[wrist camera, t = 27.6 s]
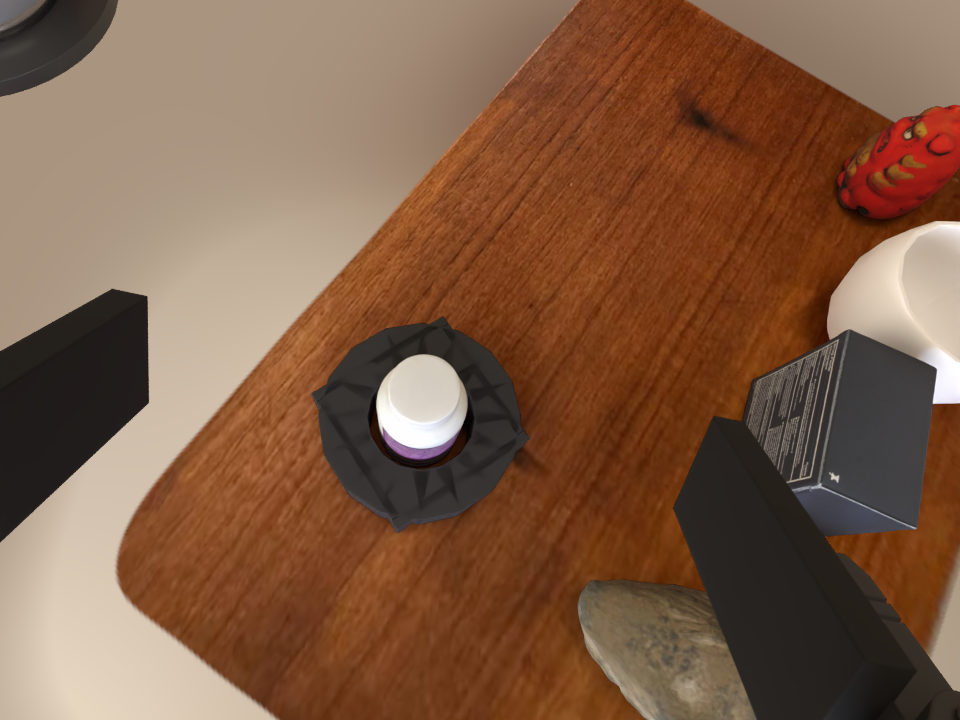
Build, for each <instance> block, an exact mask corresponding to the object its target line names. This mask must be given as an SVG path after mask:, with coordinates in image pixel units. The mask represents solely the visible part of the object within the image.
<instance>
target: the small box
mask: <svg viewBox="0 0 960 720" xmlns="http://www.w3.org/2000/svg"><path fill="white" fill-rule="evenodd" d="M936 376H937V369H936V368H935V367H933V366H931V365H929V364H928V363H926V362H923V361H921V360H919V359H917V358H914V357H912V356H910V355H908V354H906V353H903V352H901V351H899V350H897V349H894V348H892V347H889V346H887V345H885V344H883V343H880V342H878V341H876V340H874V339H871V338H869V337H867V336H864V335H862V334H860V333H858V332H855V331H853V330H851V329H848V330H846V331H844V332H842V333H840V334H839V335H838V336H836V337H834V338H833V339H831V340H829V341H828V342H826V343H824V344H822V345H821V346H818V347H817V348H815V349H812V350H811V351H809V352H806V353H805V354H803V355H801V356H799V357H797V358H795V359H793V360H791V361H789V362H787V363H786V364H783V365H782V366H780V367H777V368H776V369H774V370H772V371H770V372H768V373H766V374H763V375H762V376H760V377H757V378H755V379H753V382H752V386H751V389H750V393H749V397H748V401H747V405H746V409H745V413H744V417H743V421H742V422H745V424H746V425H747V426H748V428H749V429H750V431H751V432H752V434H753V435H754V436H755V438H756V439H757V441H758V442H759V444H760V445H761V446H762V448H763V449H764V451H765V452H766V454H767V455H768V457H769V458H770V459H771V461H772V462H773V464H774V465H775V467H776V468H777V469H778V471H779V472H780V474H781V475H782V477H783V478H784V480H785V481H786V482H787V484H788V485H789V487H790V488H791V490H792V491H793V492H794V494H795V495H796V497H797V498H798V500H799V501H800V502H801V504H802V505H803V507H804V508H805V510H806V511H807V513H808V514H809V515H810V517H811V518H812V520H813V521H814V523H815V524H816V525H817V527H818V528H819V530H820V531H821V533H822V534H823V536H837V535H847V534H858V533H871V532H885V531H895V530H906V529H912V530H913V529H917V527H918V518H919V509H920V502H921V494H922V485H923V477H924V468H925V460H926V453H927V445H928V437H929V429H930V421H931V413H932V406H933V398H934V391H935V383H936Z"/></svg>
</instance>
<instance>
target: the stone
mask: <svg viewBox="0 0 960 720" xmlns="http://www.w3.org/2000/svg"><path fill="white" fill-rule="evenodd" d="M578 613H579V619H580V624H581V627H582V631H583V633H584V641H585V644H586V647H587V649H588V651H589V653H590V655H591V657H592V658H593V659H594V660H595V661H596V662H597V663H598V664H599V665H600V667H601V668H602V670H603V671H604V673H605V674H606V676H607V677H608V679H609V680H610V681H611V682H613V683H615V684H616V685H618V686H619V687H620V689H621V693H622V694H623V695H624V697H625V698H626V699H627V701H628V702H629V703H630V704H631V705H632V706H633V707H635V708H636V709H637V710H638V711H639V712H640V714H641V715H642V716H643V717H644V718H645V719H647V720H757V719H756V717H755V714H754V711H753V709H752V706H751V704H750V701H749V699H748V696H747V694H746V691H745V689H744V686H743V684H742V681H741V679H740V676H739V673H738V671H737V668H736V666H735V663H734V661H733V658H732V656H731V653H730V651H729V648H728V646H727V643H726V641H725V638H724V636H723V633H722V630H721V628H720V625H719V623H718V620H717V618H716V615H715V613H714V610H713V608H712V605H711V603H710V600H709V598H708V595H707V593H705V592H703V591H699V590H696V589H692V588H685V587H682V586H679V585H676V584H668V585H664V584H654V583H644V582H637V581H630V580H608V581H598V580H592V581H590V582H589V584H587V586H586V587H585V589H584V590H583V591H582V593H581V594H580V598H579V601H578Z"/></svg>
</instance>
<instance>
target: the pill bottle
mask: <svg viewBox="0 0 960 720" xmlns="http://www.w3.org/2000/svg"><path fill="white" fill-rule="evenodd" d="M467 406H468V401H467V394H466V390H465V388H464V385H463V383H462V381H461V380H460V378H459V377H458V375H457V373H456V372H455V370H454V369H453V367H452V366H451V365H450V364H449V363H447V362H446V361H445V360H443V359H441V358H439V357H436V356H433V355H426V354H422V355H415V356H411V357H409V358H407V359H405V360H404V361H402V362H401V363H399V364H398V365H397V367H395V368H394V369H393V370H392V371H391V372H390V373H389V374H388V375H387V376H386V377H385V379H384V380H383V382H382V384H381V386H380V388H379V391H378V395H377V401H376V408H377V415H378V424H379V431H380V437H381V440H382V443H383V445H384V447H385V449H386V450H387V452H388V453H389V454H390V455H391V456H392V457H393V458H394V459H396V460H397V461H399V462H401V463H403V464H406V465H409V466H416V467H421V466H428V465H431V464H433V463H436V462H437V461H439V460H441V459H442V458H443V457H445V456H446V455H447V454H448V452H449V451H450V450H451V448H452V447H453V445H454V443H455V441H456V438H457V436H458V434H459V432H460V430H461V427H462V425H463V422H464V420H465V417H466V413H467Z"/></svg>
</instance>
